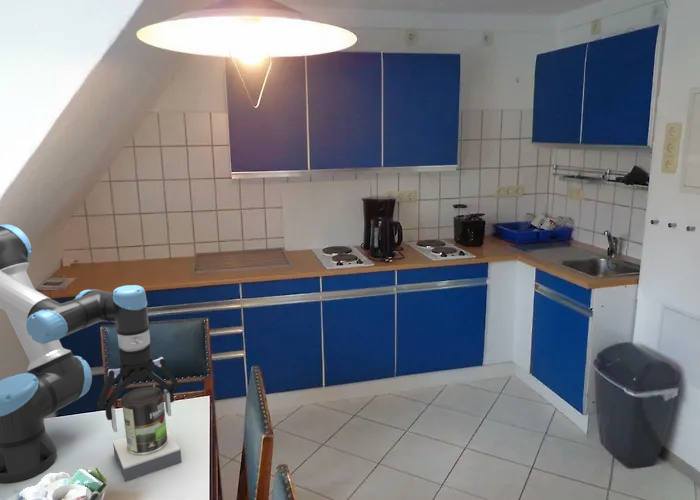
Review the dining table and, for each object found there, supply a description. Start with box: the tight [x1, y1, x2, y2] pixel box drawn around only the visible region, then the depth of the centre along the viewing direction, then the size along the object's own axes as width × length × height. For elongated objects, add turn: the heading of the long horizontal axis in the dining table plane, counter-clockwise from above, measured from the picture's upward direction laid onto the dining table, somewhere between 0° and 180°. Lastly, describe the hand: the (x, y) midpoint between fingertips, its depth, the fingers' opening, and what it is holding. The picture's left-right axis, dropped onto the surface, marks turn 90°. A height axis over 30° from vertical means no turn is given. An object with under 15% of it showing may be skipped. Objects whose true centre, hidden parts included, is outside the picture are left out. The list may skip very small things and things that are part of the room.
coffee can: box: [120, 386, 168, 455], centre depth 138 cm, size 10×10×14 cm
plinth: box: [112, 425, 182, 482], centre depth 140 cm, size 14×14×4 cm
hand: (142, 421), depth 138 cm, fingers open, 13 cm apart
